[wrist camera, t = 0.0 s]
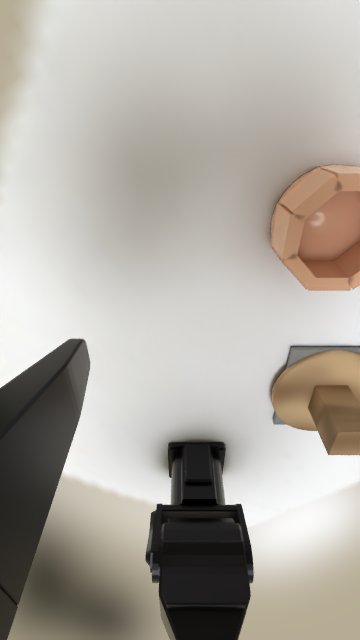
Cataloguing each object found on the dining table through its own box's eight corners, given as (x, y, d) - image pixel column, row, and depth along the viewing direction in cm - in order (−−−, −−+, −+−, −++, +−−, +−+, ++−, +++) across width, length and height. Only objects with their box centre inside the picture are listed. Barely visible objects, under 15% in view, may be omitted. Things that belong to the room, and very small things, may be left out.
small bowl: (357, 268, 23) (383, 290, 20) (264, 268, 23) (275, 290, 20) (392, 164, 19) (430, 172, 16) (280, 164, 19) (297, 173, 16)
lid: (359, 424, 32) (391, 478, 27) (264, 424, 32) (279, 478, 28) (395, 349, 27) (443, 400, 22) (281, 349, 27) (302, 400, 22)
